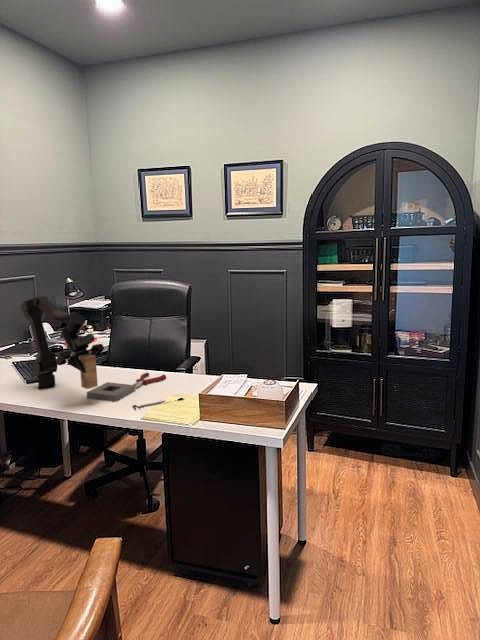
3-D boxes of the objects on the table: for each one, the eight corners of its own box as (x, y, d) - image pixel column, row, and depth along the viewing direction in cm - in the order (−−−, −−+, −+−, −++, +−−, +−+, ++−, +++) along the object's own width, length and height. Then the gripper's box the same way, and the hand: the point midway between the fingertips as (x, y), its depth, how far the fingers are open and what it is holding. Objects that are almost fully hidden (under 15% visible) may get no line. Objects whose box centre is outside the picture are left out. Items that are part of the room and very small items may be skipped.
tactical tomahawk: (136, 414, 171) (136, 412, 171) (132, 407, 177) (131, 405, 177) (188, 404, 181) (188, 401, 180) (183, 398, 186) (182, 395, 186)
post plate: (87, 397, 188) (86, 392, 187) (107, 387, 201) (107, 382, 200) (115, 401, 183) (115, 395, 182) (135, 390, 196) (134, 385, 195)
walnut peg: (81, 386, 180) (79, 356, 178) (91, 384, 184) (89, 354, 181) (87, 389, 177) (85, 358, 175) (97, 386, 181) (95, 355, 179)
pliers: (120, 389, 200) (120, 383, 199) (146, 376, 218) (146, 371, 217) (142, 392, 195) (141, 386, 195) (167, 379, 213) (167, 374, 213)
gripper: (57, 331, 172) (75, 364, 167) (100, 324, 186) (118, 354, 181) (48, 348, 178) (65, 381, 173) (90, 340, 192) (107, 370, 187)
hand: (90, 371), depth 178 cm, fingers closed on walnut peg, 4 cm apart
